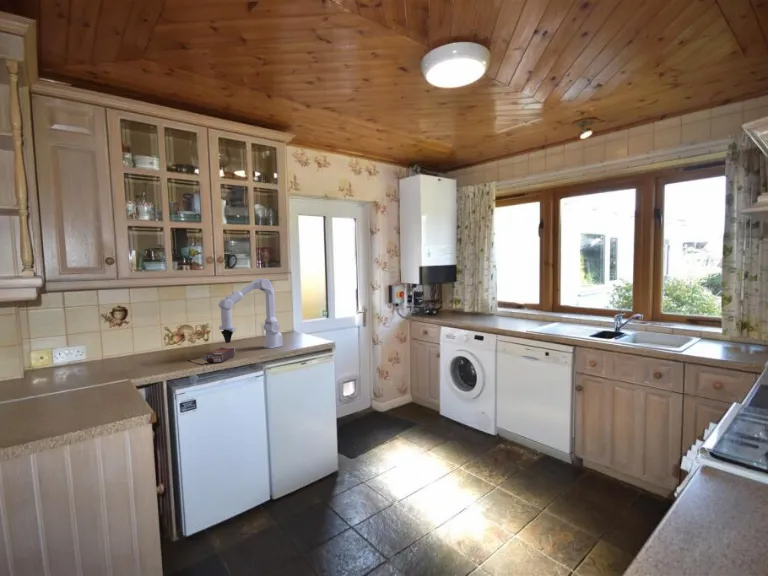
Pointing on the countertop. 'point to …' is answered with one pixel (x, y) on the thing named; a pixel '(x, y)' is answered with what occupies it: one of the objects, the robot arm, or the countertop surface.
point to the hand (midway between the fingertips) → (227, 342)
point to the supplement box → (220, 354)
